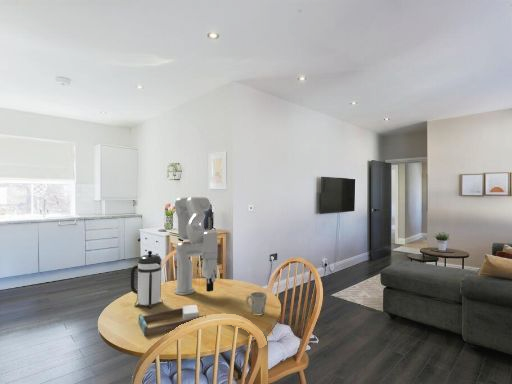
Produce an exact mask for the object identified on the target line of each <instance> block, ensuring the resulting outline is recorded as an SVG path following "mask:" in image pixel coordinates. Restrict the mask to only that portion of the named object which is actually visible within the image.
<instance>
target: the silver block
mask: <svg viewBox="0 0 512 384" xmlns="http://www.w3.org/2000/svg"><path fill="white" fill-rule="evenodd" d="M182 308H183V311H182V320H185V319H190V318H194V317H199V309H198V306H197V304H192V305H191V304H189V305H183V306H182Z"/></svg>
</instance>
